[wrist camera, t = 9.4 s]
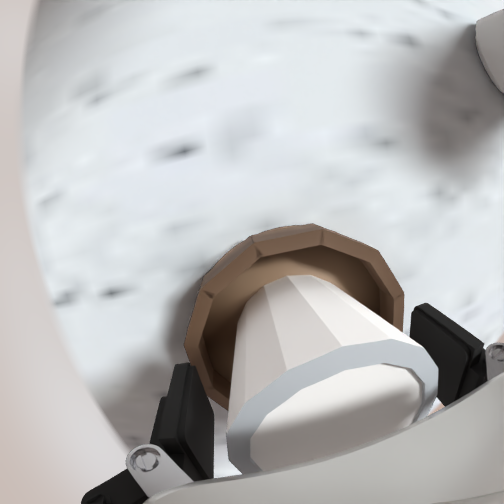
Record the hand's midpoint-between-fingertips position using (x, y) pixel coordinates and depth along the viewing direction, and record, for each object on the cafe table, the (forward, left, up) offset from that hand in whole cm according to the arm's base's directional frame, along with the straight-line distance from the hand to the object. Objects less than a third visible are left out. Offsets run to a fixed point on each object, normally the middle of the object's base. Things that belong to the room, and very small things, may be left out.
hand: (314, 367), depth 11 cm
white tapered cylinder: (0, 0, -3) cm, 3 cm away
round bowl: (0, 0, -4) cm, 4 cm away
